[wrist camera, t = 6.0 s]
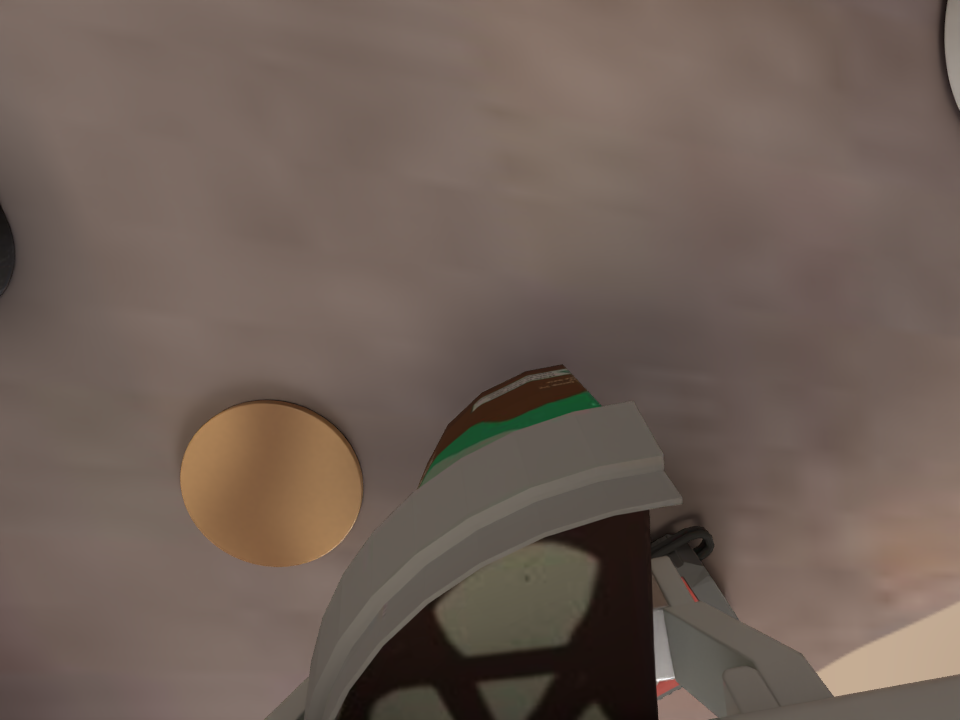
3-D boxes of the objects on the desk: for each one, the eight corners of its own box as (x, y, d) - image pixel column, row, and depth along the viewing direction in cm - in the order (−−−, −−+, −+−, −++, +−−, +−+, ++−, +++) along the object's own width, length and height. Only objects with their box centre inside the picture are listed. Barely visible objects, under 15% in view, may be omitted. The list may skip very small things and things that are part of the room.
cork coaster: (334, 381, 25) (331, 384, 25) (383, 541, 27) (382, 547, 27) (158, 422, 26) (152, 425, 25) (220, 577, 28) (215, 583, 27)
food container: (358, 338, 16) (166, 506, 6) (559, 316, 16) (683, 456, 6) (413, 669, 19) (341, 1132, 9) (583, 654, 19) (693, 1111, 9)
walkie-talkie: (674, 482, 27) (363, 667, 29) (713, 529, 23) (345, 741, 25) (751, 602, 29) (452, 767, 31) (800, 667, 24) (449, 853, 27)
